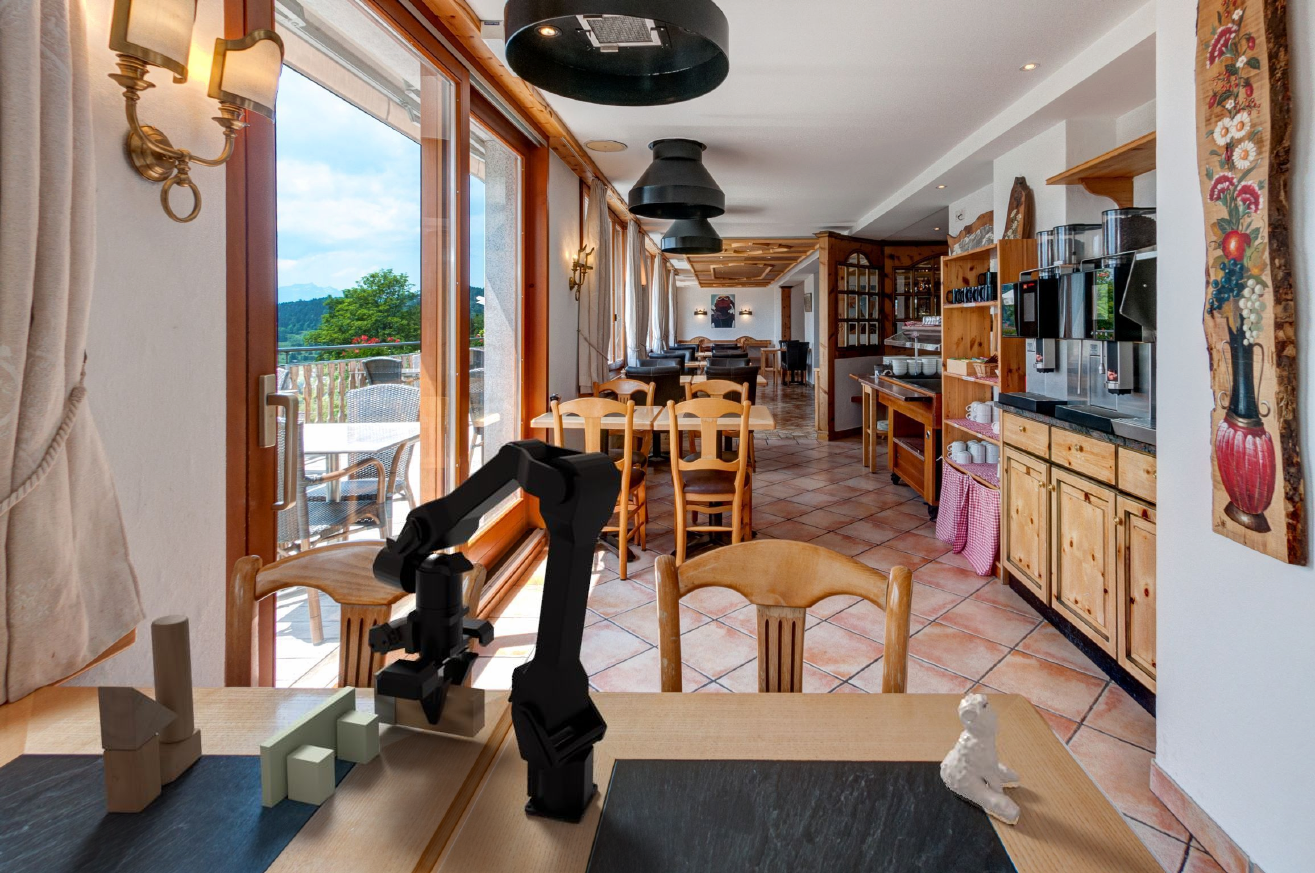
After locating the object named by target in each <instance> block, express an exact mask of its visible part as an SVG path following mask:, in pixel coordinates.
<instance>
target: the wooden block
mask: <svg viewBox="0 0 1315 873" xmlns="http://www.w3.org/2000/svg"><path fill="white" fill-rule="evenodd" d="M189 621H190V619H189V617H188V616H187V615H184V614H169V615H165V616H161V617H158V618H156V619H154V620H152V622H151V624H150V632H151V650H152V651H151V652H152V666H153V667H152V668H153V684H154V697H155V698H154V699H153V698H152V697H149V696H148V695H147V694H145V693H143V692H141V691H140V690H138V689H137V688H135V687H133V686H113V685H112V686H111V685H109V686H107V685H99V686H97V694H98V696H97V697H98V712H99V725H100V726H99V727H100V740H101V742H100V743H101V749H102V750H103V752H102V755H103V757H102V758H103V767H104V768H103V769H104V771H103V772H104V782H105V798H106V811H107V812H108V813H128V814H129V813H131V814H132V813H135V814H137V813H141V812H142V811H144V809H145V808H147V807H148V806H149V805H150V804H151V803H152V802H154V800H155V799H157V798H158V797H159V796H160V795H161V793H162V786H165V785H168V784H170V783H172V782H174V781H175V780H176V779H177V778H178V777H180V776H181V775H182V774H183V773H184V772H185V771H186V770H188V768H190V767H191V766H192V765H193V764H194V763H195V762H196V761H197V760H198V759H199V758H200V757H201V756H202V754H203V750H202V749H203V748H202V733H201V732H202V730H201V729H200V728H195V713H194V712H195V711H194V710H195V709H194V695H193V677H192V657H191V642H190V641H191V638H190V622H189Z"/></svg>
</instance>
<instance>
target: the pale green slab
mask: <svg viewBox="0 0 1315 873" xmlns="http://www.w3.org/2000/svg"><path fill="white" fill-rule="evenodd" d="M356 705H357V704H356V687H354V686H348V685H346V686H345V687H343V688H342V689H340V690H339V691H338V692H336V693H335V694H333V695H332V696H330V697H328V698H327V699H326V700H324V701H322V702H321V703H320V704H318V705H317V706H315V707H314V708H313V709H311V710H310V711H308V712H306V713H305V714H304V715H302V716H300V718H298V719H296V720H295V721H293V722H292V723H290V724H288V725H287V726H286V727H284V728H283V729H282V730H280V731H279V732H277V733H276V734H274V735H273V736H272V737H270V738H268V739H267V740H265V741H264V742H263V743H261V744H260V745H259V752H260V753H259V754H260V755H259V756H260V778H261V779H260V780H261V781H260V782H261V800H262V802H261V805H262V806H263V807H267V808H270V809H271V808H273V807H275V805H277V804H278V803H279V802H280V801H283V799H285V798H286V797H287V796H288V800H292V801H296V802H300V803H301V802H302V803H306V804H311V805H315V806H321V805H322V804H323V803H324V802H325V801H326V800H328V799H329V798H330V797H331V796H332V795H333V794H334V793H335V792H336V777H335V776H336V774H335V772H336V771H335V757H336V756H337V759H338V760H342V761H348V762H354V763H358V764H363V765H368V764H369V763H370V762H371V761H372V760H373V759H375V757H376V756H378V755H379V754H380V723H379V715H377V714H375V713H370V712H366V711H365V712H364V711H359V710H357V709H356Z"/></svg>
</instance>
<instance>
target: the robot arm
mask: <svg viewBox="0 0 1315 873" xmlns="http://www.w3.org/2000/svg"><path fill="white" fill-rule="evenodd" d="M621 472H622V470H620V469H619V468H618V466H617V464H616V462H615V461H614V460H613V459H612V458H611V457H610V455H608V454H606V453H604V452H602V451H601V452H600V451H593V452H586V451H584V450H577V449H573V448H570V447H569V448H568V447H563V446H558V445H555V444H551V443H549V442H547V441H544V440H540V439H538V438H528V439H520V440H512V441H508V442H506V443H505V444H503V445H502V446H501V447H500V448H499V450H498V452H497V453H496V454H495V455H494V456H492V457H491V458H490V459H489V460H488V461H486V463H484V464H483V465H482V466H481V467H480V468H478V469H477V470H476V471H475V472H474V473H472V474H471V475H470V476H469V477H468V478H467V479H465V480H464V481H463V482H462V483H460V484H459V485H458V486H457V487H456V488H454V489H453V490H452V491H451V492H450V493H448V494H446V495H444V496H440V497H439V498H436V499H432V500H430V501H427V502H425V503H422V504H420V505H418V506H416V507H414V508H412V509H411V510H409V512H408V513H407V516H406V518H405V523H404V525H403V527H402V529H401V530H400V532H399V534H395V535H390V536H387V537H385V546H383V547H382V549H380V550H379V552H378V553H377V555H376V556H375V558H374V561H373V563H372V572H373V573H372V574H373V576H374V578H375V579H376V581H377V582H378V583H380V584H383V585H385V586H388V587H391V588H393V589H395V590H399V591H401V592H403V593H406V594H411V595H412V594H415V608H414V609H413V610H411V611H410V612H408V613H407V615H406V616H403V617H399V618H395V619H393V620H391V621H388V622H386V621H385V622H383V623H381V624H379V623H378V624H375V625H374V626H372V627H370V628H369V629H368V639H367V642H368V643H367V645H368V647H369V648H370V651H371V652H373V653H374V654H377V653H378V654H379V655H380V656H385V655H387V654H388V653H391V652H394V651H399V650H402V649H403V650H404V654H408V655H415V654H418V657H417V658H416V659H414V660H411V659H404V658H398V659H397V660H395V661H393V663H392V662H391V663H392V664H391V665H389V666H388V667H387V668H385V669H384V670H382V671H381V672H380V673H379V674H378V675H377V676H376V693H377V695H383V696H389V697H395V698H401V699H407V700H413V701H417V700H419V701H420V703H421V706H422V708H423V711H424V713H425V715H426V718H427V720H428V723H429V724H431V725H437V724H438V722H439V719H440V716H441V713H442V710H443V707H444V703H445V700H446V696H447V693H448V690H449V687H450V684H453V685H460V686H465V683H466V681H467V679H468V677H469V674H470V672H471V671H472V668H473V667H474V665H475V663H476V661H477V660H478V659H479V656H480V654H479V653H478V652H475V651H470V646H468V645H469V644H470V640H472V639H478V645H479V646H480V647H482V648H486V647H487V646H488V645H490V644H491V643H492V642H493V641H494V640H495V626H493V624H492V623H491V622H490V620H488V619H482V618H481V619H480V618H474V617H466V616H467V615H468V614H469V613H470V604H464V600H463V598H464V596H463V594H464V593H463V592H464V591H463V589H464V587H463V582H464V581H463V577H464V576H463V575H464V574H465V573H467V572H468V573H469V572H472V571H474V569H475V566H474V564H473V563H472V561H471V560H470V559H468V558H467V557H466V556H465V555H464V553H463V551H457V552H453V553H446V552H438V551H442V550H443V551H444V550H446V549H451V548H454V547H458V546H462V545H464V544H465V545H466V543H467V542H469V540H470V539H471V538H472V537H473V536H474V534H475V533H476V532H477V531H478V530H479V527H480V520H481V519H482V518H483V516H485V515H486V514H487V513H489V512H490V511H491V510H492V509H494V508H495V507H496V506H497V505H499V504H500V503H502V502H503V501H504V500H505V499H506V498H508V497H509V496H511V495H512V494H513V493H515V492H516V491H517V490H518V489H520V488H521V489H522V490H523V492H525V493H527V494H528V495H531V496H532V497H535V498H537V499H538V510H539V513H540V516H541V518H542V520H543V522H544V524H545V527H546V528H547V532H548V533H549V540H548V541H549V542H548V549H547V555H546V556H547V557H546V562H545V563H546V564H545V573H544V581H543V588H542V595H541V604H540V609H539V610H540V612H539V619H538V627H537V633H536V634H537V635H536V643H535V651H534V655H533V658H532V659H531V660H529V661H527V662H525V663H522V664H520V665H518V666H516V667H514V669H513V670H512V675H511V691H510V695H509V696H508V698H507V702H508V703H511V706H510V715H511V722H512V726H513V729H514V734H515V739H516V742H517V747H518V751H519V756H520V758H521V759H522V760H523V761H525V762H527V763H526V795H527V797H528V798H529V800H528V801H527V802H526V804H525V805H524V813H527V814H529V815H535V816H540V817H545V818H550V819H555V820H559V821H565V822H570V823H575V824H577V823H581V821H582V819H583V818H584V816H585V814H586V812H587V811H588V809H589V807H590V805H591V803H592V801H593V799H594V797H595V796H596V794H597V792H598V789H599V785H598V784H597V783H595V782H594V762H595V761H594V760H595V759H594V754H595V752H594V751H595V744H597V743H598V742H601V741H602V740H604V739H605V738H604V737H605V736H606V733H607V730H608V724H607V722H606V720H605V719H604V717H603V716H602V714H601V713H600V710H599V709H598V707H597V706H596V704H595V702H594V700H593V699H592V697H591V696H590V694H589V693H590V684H589V683H590V679H589V675H588V673H587V671H586V669H585V667H584V665H583V663H582V661H581V652H582V651H581V650H582V642H583V636H584V630H585V621H586V615H587V608H588V601H589V594H590V586H591V581H592V574H593V573H592V572H593V567H594V561H595V560H594V558H595V552H596V545H597V540H598V537H599V536H600V535H601V533H602V531H603V530H604V528H605V526H606V525H607V524H608V522H609V520H610V519H611V517H612V516H613V514H614V512H615V508H616V506H617V502H618V498H619V496H620V492H621V488H622V482H623V481H622V480H623V479H622V478H623V477H622V473H621ZM435 552H437V553H435Z"/></svg>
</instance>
